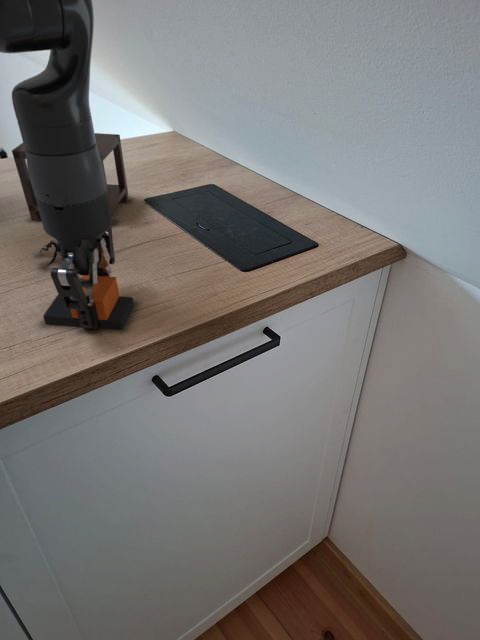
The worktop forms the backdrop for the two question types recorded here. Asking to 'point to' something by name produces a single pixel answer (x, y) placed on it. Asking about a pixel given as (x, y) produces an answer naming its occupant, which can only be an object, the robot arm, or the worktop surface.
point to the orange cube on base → (107, 303)
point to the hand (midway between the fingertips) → (98, 312)
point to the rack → (104, 148)
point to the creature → (58, 248)
